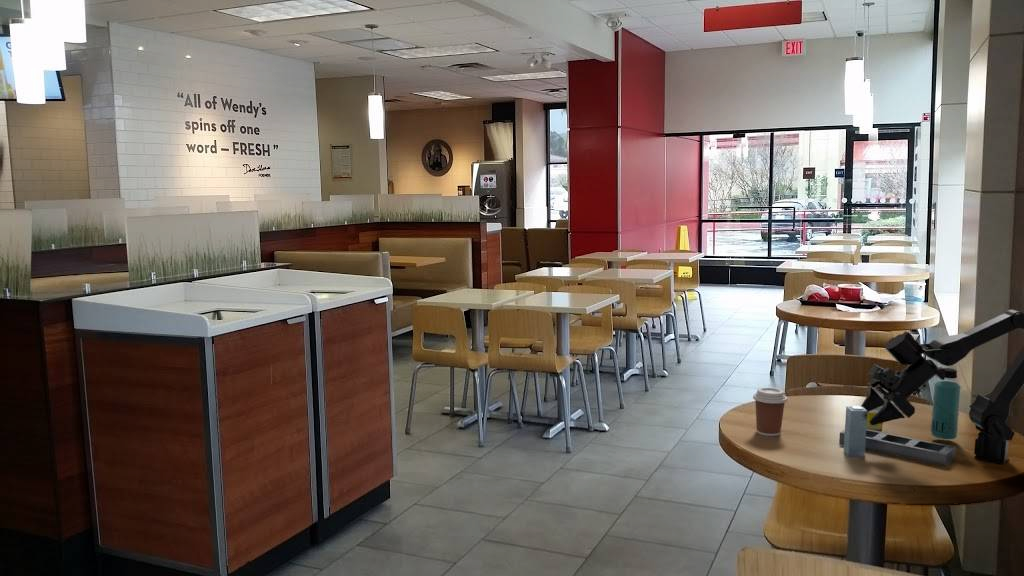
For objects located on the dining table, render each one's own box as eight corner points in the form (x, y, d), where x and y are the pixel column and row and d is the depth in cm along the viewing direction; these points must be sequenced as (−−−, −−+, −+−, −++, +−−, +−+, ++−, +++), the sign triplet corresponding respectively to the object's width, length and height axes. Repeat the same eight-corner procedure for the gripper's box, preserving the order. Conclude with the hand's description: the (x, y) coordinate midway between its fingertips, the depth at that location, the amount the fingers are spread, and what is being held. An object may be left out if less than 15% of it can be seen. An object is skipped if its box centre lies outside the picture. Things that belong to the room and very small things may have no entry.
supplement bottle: (883, 434, 226) (885, 405, 225) (865, 433, 227) (867, 404, 226) (879, 429, 231) (881, 400, 230) (861, 428, 232) (863, 399, 230)
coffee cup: (765, 425, 234) (767, 384, 232) (792, 433, 226) (794, 391, 225) (744, 431, 228) (746, 389, 227) (771, 439, 221) (773, 396, 219)
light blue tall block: (859, 451, 212) (862, 405, 210) (864, 456, 208) (867, 409, 206) (843, 451, 212) (846, 405, 210) (848, 456, 208) (851, 409, 206)
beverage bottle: (957, 439, 222) (963, 367, 219) (956, 446, 216) (962, 372, 213) (930, 436, 225) (935, 364, 222) (928, 442, 219) (934, 369, 217)
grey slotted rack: (954, 458, 207) (955, 446, 207) (945, 466, 201) (946, 454, 201) (850, 436, 224) (850, 425, 224) (839, 443, 218) (839, 432, 218)
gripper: (878, 347, 215) (832, 386, 217) (905, 363, 197) (854, 405, 199) (907, 377, 215) (860, 416, 218) (936, 396, 197) (885, 438, 199)
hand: (864, 418), depth 208 cm, fingers open, 9 cm apart
